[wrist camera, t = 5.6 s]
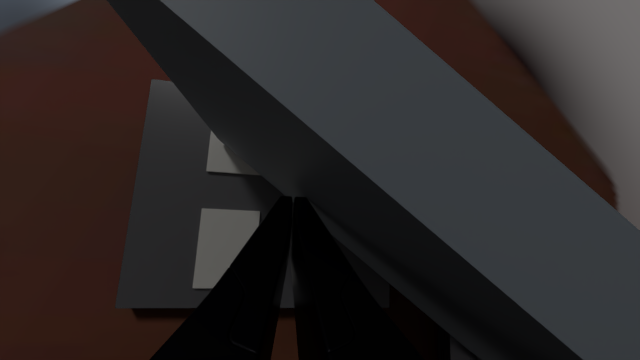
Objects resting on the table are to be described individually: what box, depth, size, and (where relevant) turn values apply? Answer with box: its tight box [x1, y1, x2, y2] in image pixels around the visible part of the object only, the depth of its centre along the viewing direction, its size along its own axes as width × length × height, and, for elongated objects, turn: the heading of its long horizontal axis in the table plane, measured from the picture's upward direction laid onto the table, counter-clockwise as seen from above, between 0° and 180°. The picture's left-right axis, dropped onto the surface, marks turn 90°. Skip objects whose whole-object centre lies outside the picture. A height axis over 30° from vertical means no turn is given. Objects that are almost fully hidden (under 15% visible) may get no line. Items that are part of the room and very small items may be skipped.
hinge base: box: [437, 324, 478, 360], centre depth 15 cm, size 5×5×1 cm
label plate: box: [115, 79, 390, 308], centre depth 15 cm, size 12×14×1 cm
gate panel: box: [107, 0, 640, 360], centre depth 9 cm, size 2×20×11 cm, turn 51°
